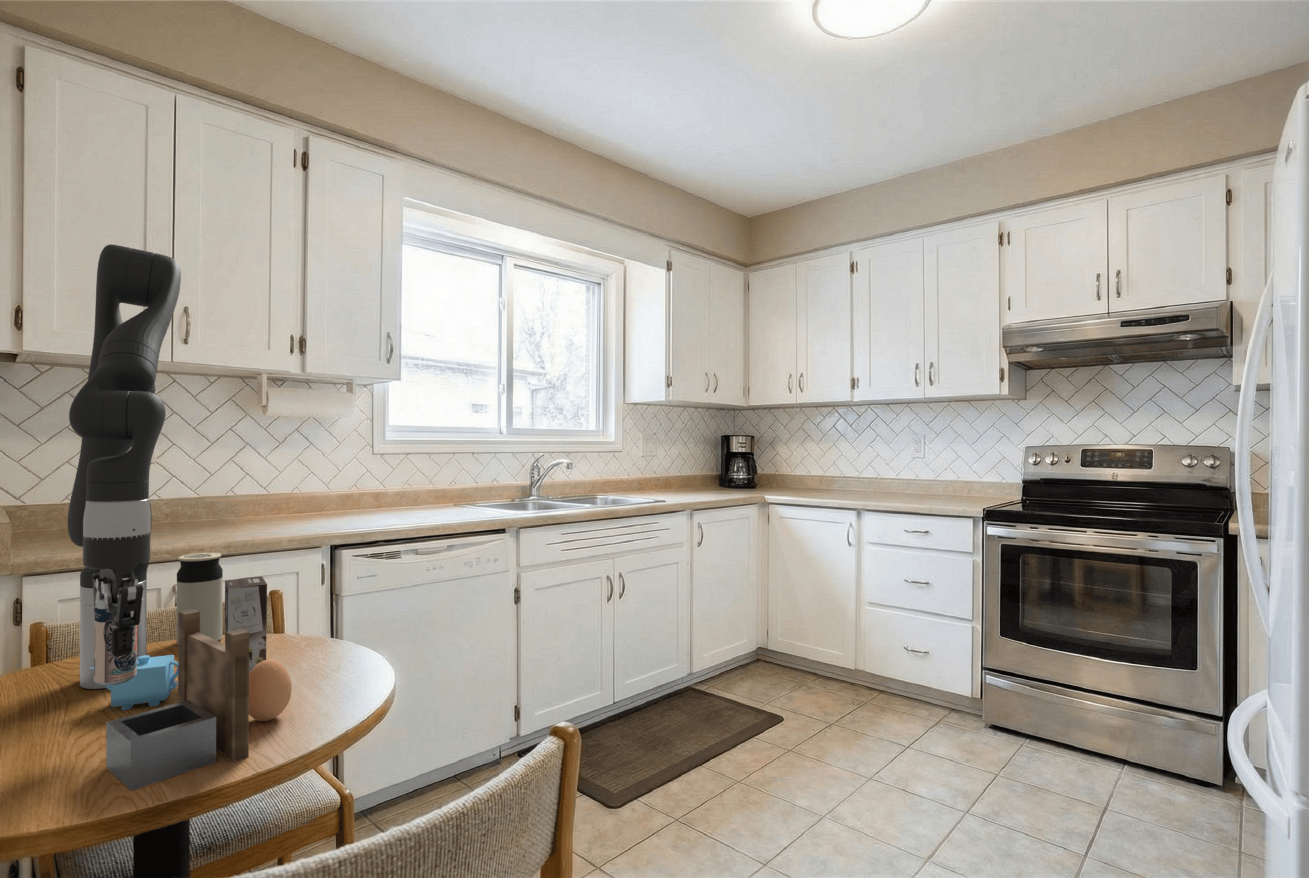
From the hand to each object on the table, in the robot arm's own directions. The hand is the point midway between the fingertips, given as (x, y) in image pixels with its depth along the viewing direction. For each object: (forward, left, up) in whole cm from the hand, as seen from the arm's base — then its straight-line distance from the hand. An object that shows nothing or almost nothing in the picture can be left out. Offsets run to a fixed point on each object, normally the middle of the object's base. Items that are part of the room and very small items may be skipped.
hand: (115, 649), depth 97 cm
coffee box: (-18, +24, -13) cm, 33 cm away
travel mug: (-42, +25, -13) cm, 51 cm away
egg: (+9, +16, -13) cm, 23 cm away
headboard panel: (+10, +8, -13) cm, 19 cm away
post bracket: (+13, +1, -13) cm, 19 cm away
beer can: (0, 0, -5) cm, 5 cm away
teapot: (-14, +6, -13) cm, 20 cm away
